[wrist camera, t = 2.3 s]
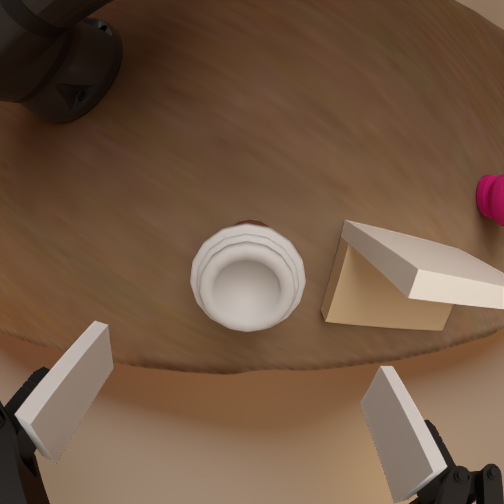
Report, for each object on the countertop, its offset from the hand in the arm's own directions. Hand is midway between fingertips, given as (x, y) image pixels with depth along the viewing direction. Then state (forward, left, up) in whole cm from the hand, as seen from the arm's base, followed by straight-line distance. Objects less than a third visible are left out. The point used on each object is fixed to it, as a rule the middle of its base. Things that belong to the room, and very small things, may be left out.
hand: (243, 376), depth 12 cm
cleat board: (+1, +19, -21) cm, 28 cm away
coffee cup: (0, 0, -21) cm, 21 cm away
